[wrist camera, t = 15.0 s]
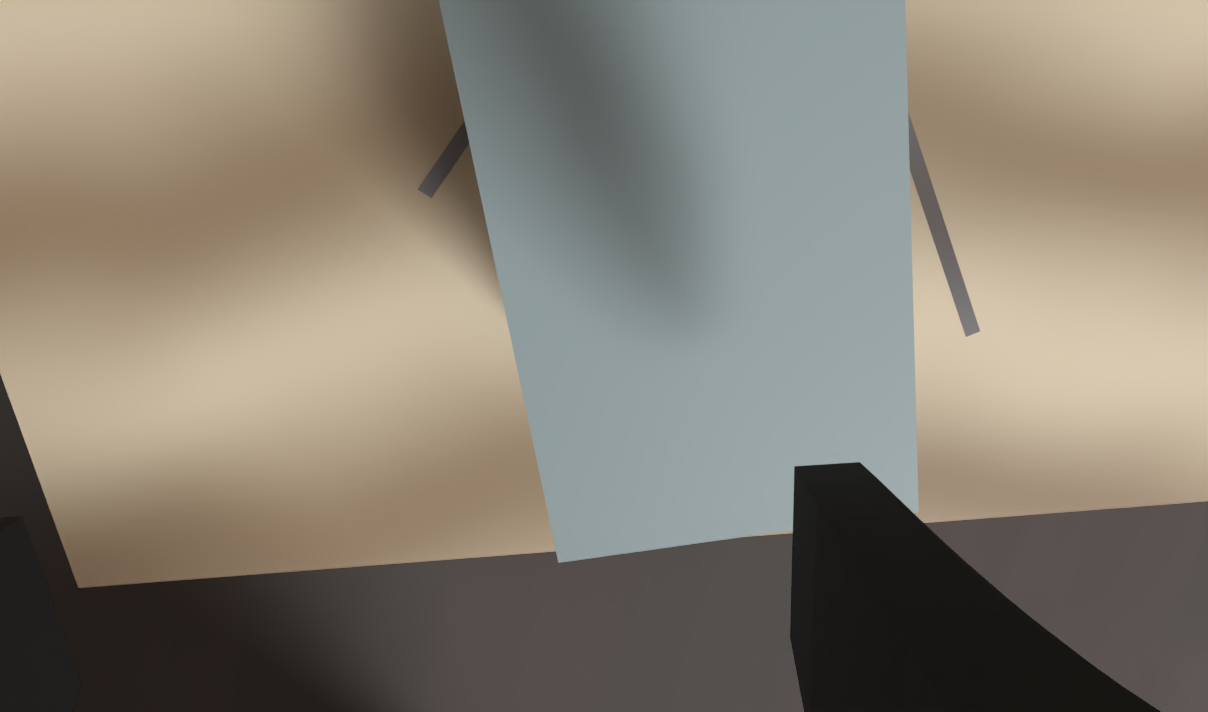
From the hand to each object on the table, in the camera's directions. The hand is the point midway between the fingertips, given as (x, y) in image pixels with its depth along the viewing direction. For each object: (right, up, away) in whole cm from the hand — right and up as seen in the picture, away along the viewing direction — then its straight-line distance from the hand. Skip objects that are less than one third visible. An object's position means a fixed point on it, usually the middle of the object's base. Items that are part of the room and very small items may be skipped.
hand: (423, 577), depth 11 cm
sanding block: (+3, +6, +6) cm, 9 cm away
